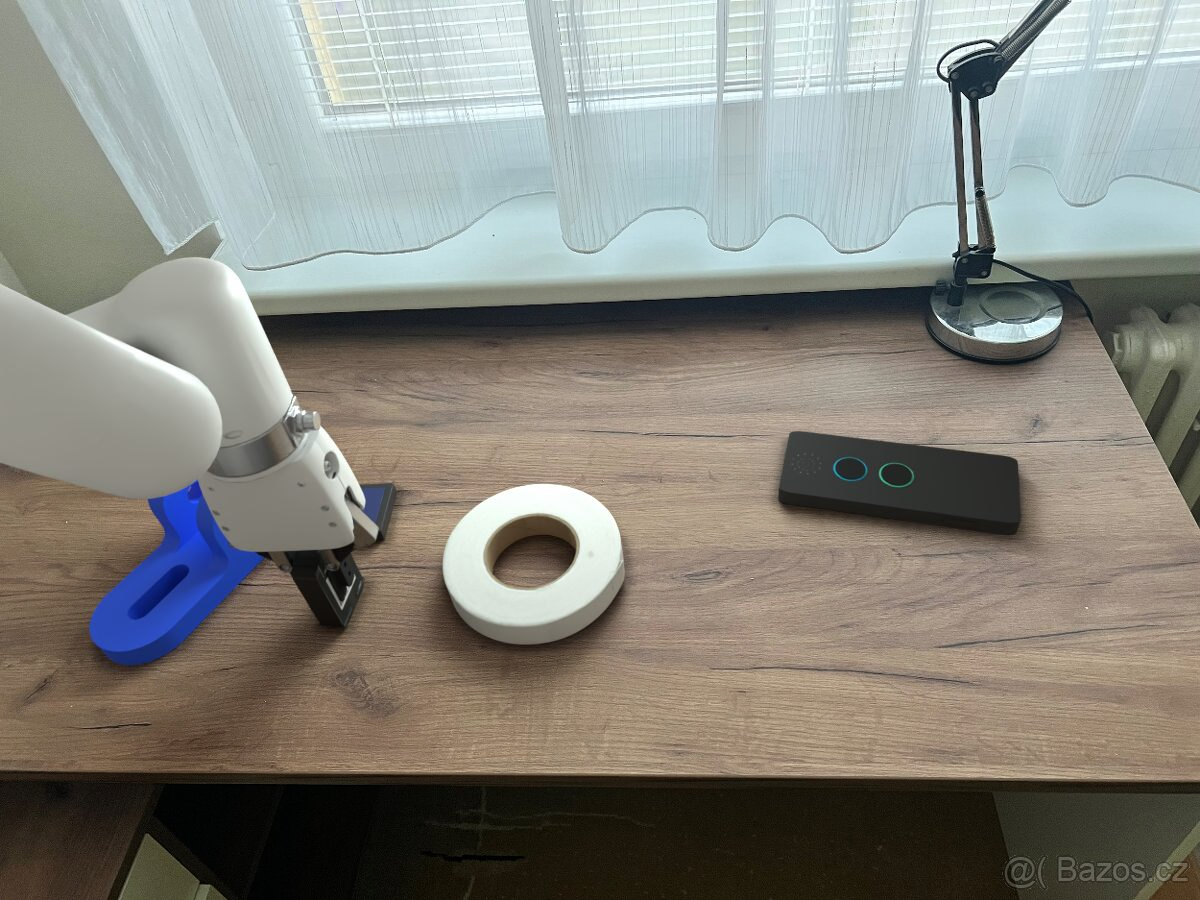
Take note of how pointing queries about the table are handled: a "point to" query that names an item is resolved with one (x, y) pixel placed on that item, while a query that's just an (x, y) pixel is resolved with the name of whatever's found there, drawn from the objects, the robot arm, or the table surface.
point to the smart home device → (902, 482)
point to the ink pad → (379, 505)
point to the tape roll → (545, 606)
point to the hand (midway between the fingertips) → (330, 587)
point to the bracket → (170, 583)
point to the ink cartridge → (325, 589)
